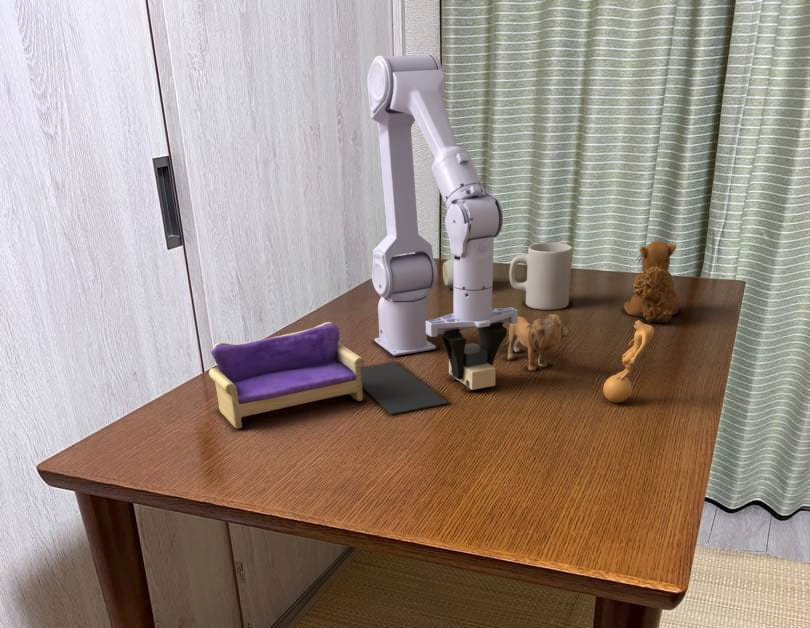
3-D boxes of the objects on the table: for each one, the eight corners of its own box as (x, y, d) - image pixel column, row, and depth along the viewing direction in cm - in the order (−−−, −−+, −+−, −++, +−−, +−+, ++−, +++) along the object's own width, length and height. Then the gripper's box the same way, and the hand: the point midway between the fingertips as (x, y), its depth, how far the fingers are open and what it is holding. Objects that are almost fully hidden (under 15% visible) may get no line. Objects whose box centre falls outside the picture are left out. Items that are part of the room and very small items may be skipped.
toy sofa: (231, 432, 113) (221, 361, 108) (214, 411, 119) (203, 343, 114) (367, 401, 121) (363, 334, 115) (344, 384, 127) (339, 319, 122)
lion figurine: (570, 370, 130) (574, 314, 125) (544, 377, 127) (548, 321, 122) (510, 347, 140) (512, 294, 135) (486, 353, 138) (487, 300, 133)
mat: (344, 372, 132) (344, 370, 132) (395, 363, 135) (395, 361, 135) (391, 415, 116) (391, 413, 116) (447, 404, 119) (447, 402, 119)
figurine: (602, 390, 122) (610, 310, 116) (643, 392, 121) (654, 312, 114) (601, 411, 115) (610, 328, 109) (645, 414, 114) (656, 330, 107)
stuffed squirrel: (675, 306, 158) (686, 236, 151) (684, 328, 146) (695, 253, 139) (623, 306, 159) (630, 236, 152) (627, 327, 148) (635, 252, 141)
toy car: (448, 377, 129) (448, 344, 126) (471, 373, 130) (471, 340, 127) (471, 393, 122) (472, 359, 119) (495, 389, 124) (496, 355, 121)
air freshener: (441, 282, 179) (441, 234, 174) (478, 279, 180) (479, 232, 175) (449, 294, 170) (449, 245, 165) (488, 292, 171) (489, 243, 166)
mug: (569, 299, 165) (573, 242, 159) (567, 310, 158) (572, 252, 152) (510, 297, 167) (512, 242, 161) (506, 309, 160) (508, 251, 154)
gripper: (439, 298, 113) (440, 391, 120) (530, 285, 117) (525, 374, 125) (419, 287, 118) (420, 376, 125) (506, 274, 123) (503, 361, 130)
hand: (471, 374), depth 125 cm, fingers open, 4 cm apart
